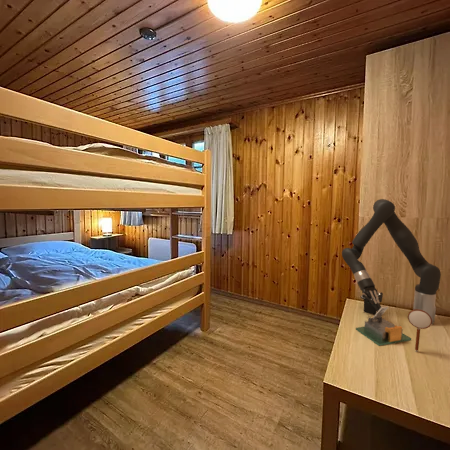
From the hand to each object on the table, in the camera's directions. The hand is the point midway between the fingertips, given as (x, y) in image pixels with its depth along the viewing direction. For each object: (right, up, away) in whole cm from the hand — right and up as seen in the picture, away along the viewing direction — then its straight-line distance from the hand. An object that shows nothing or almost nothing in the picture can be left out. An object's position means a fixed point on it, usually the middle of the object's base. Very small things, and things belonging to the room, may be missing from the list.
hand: (380, 311), depth 130 cm
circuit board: (+1, -12, -1) cm, 12 cm away
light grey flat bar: (0, -1, 0) cm, 1 cm away
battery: (+8, -9, +23) cm, 26 cm away
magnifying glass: (+8, -13, -15) cm, 21 cm away
